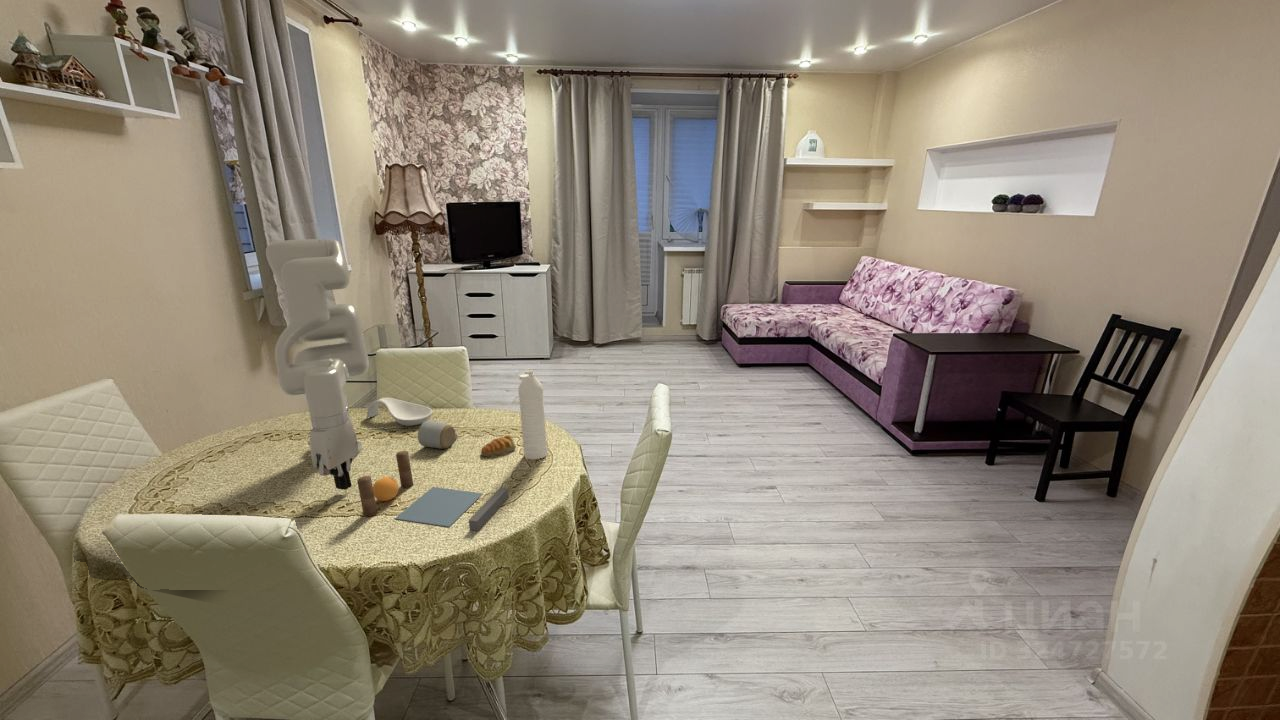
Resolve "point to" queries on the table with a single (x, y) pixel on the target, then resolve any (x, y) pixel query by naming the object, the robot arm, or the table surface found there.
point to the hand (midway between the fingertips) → (343, 487)
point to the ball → (385, 488)
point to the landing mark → (439, 506)
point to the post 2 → (404, 469)
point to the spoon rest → (402, 411)
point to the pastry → (498, 446)
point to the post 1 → (367, 496)
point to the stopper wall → (488, 509)
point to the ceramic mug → (436, 434)
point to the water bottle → (532, 416)
